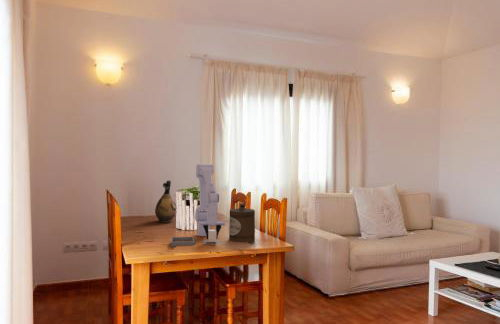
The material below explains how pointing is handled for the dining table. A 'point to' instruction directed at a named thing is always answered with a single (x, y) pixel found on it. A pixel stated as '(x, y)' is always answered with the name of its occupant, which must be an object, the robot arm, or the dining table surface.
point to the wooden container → (242, 224)
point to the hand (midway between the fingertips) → (211, 238)
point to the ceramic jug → (166, 205)
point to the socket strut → (211, 235)
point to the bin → (181, 240)
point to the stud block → (211, 242)
